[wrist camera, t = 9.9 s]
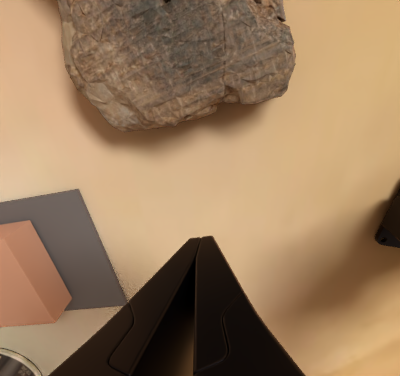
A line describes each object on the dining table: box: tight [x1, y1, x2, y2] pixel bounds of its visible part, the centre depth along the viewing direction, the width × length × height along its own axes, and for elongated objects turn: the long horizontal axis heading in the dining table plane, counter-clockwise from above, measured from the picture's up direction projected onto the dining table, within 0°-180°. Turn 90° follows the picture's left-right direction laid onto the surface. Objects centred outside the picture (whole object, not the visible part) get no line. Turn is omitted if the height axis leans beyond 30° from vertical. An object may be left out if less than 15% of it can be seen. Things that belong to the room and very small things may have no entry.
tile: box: [0, 220, 72, 327], centre depth 24 cm, size 3×10×9 cm
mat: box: [0, 189, 128, 311], centre depth 26 cm, size 16×14×1 cm
